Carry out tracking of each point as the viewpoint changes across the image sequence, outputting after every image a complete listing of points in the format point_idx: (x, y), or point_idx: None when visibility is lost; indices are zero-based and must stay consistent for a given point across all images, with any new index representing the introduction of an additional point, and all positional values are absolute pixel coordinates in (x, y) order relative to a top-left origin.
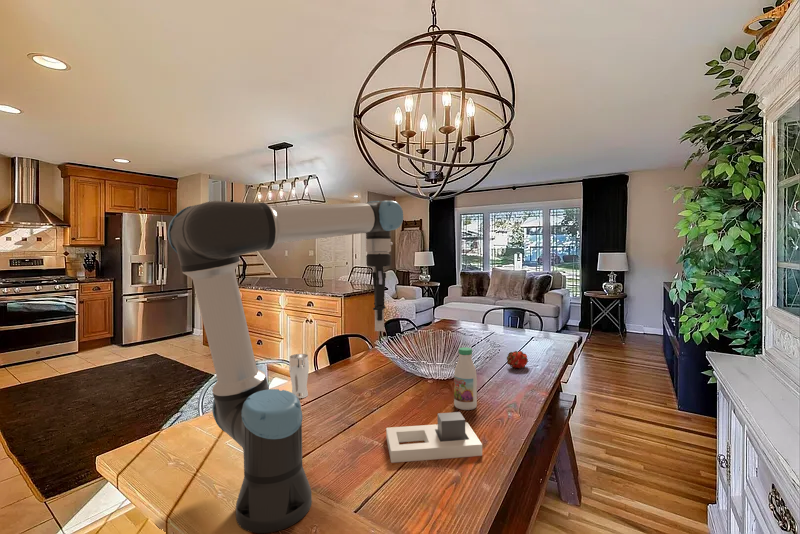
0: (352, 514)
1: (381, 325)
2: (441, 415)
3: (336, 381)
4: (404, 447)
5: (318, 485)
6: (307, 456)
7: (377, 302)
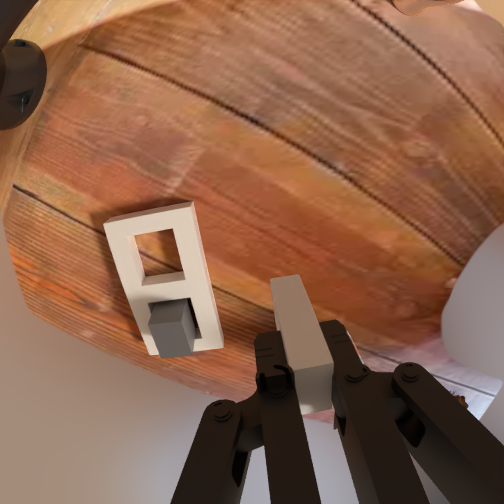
0: (9, 183)
1: (277, 328)
2: (172, 326)
3: (480, 82)
4: (118, 246)
5: (48, 118)
6: (120, 66)
7: (194, 456)
